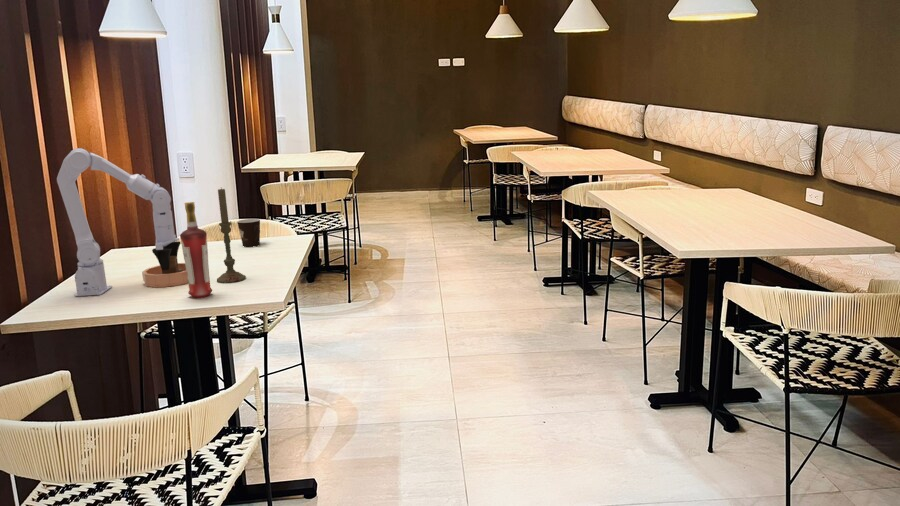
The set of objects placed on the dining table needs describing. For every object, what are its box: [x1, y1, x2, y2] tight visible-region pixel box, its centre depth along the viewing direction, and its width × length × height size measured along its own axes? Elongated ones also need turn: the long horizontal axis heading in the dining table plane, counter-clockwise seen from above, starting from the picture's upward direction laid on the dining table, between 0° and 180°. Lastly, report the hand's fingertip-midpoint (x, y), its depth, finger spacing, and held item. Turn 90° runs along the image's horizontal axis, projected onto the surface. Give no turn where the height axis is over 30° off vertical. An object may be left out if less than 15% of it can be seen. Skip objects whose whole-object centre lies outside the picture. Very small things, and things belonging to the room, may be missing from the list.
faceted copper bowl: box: [141, 262, 188, 288], centre depth 236 cm, size 16×16×4 cm
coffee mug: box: [237, 218, 261, 248], centre depth 285 cm, size 12×9×10 cm
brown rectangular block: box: [162, 255, 179, 274], centre depth 235 cm, size 2×4×7 cm, turn 94°
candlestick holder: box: [216, 187, 247, 284], centre depth 231 cm, size 9×9×30 cm
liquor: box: [179, 201, 213, 299], centre depth 213 cm, size 7×7×28 cm
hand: (169, 267), depth 235 cm, fingers open, 7 cm apart
